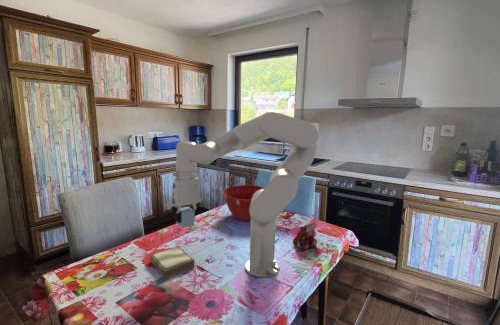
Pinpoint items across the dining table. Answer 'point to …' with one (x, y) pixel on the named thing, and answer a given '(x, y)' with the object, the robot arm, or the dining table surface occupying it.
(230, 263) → the dining table surface
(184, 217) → the block
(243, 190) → the mixing bowl
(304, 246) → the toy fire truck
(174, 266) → the plinth
